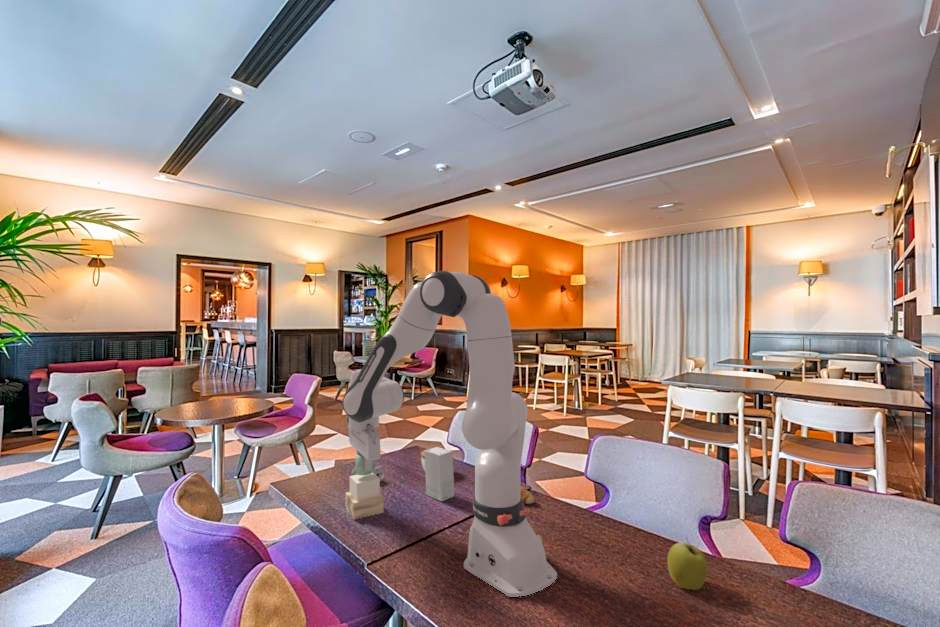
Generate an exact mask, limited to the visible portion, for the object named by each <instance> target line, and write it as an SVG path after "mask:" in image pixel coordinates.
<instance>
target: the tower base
mask: <svg viewBox="0 0 940 627" xmlns="http://www.w3.org/2000/svg"><path fill="white" fill-rule="evenodd" d="M344 493H345V498H344V499H345V507H346V508H345V509H346V511H347V512H348V514H349V515H350V517H351V518H352V520H353V521H355V520H359V518H360V519H364V518H367V516H368V517H371V515H372V516H375V514H376V515H379V514H383V513H384V512H385V511H384V509H385V508H384V507H385V502H384V501H385V500H384V499H385V497H384V495H383V494H382V493H381V492H380V495H379V496H375V497H371V498H367V499H362V500H358V501H357V500H356V499H355V498H354V497H353V496H352V495H351V494H350V491H345V492H344ZM363 517H364V518H363Z"/></svg>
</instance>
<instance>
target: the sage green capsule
mask: <svg viewBox="0 0 940 627" xmlns="http://www.w3.org/2000/svg"><path fill="white" fill-rule="evenodd" d="M364 464H365V459H364V456H363V455H362V454H358V455H357V454H356V455H355V465H356V474H357V475H368V474H371V473H372V472H373V460H372V464H371V470H370V471H365V470H364Z"/></svg>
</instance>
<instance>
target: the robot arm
mask: <svg viewBox="0 0 940 627" xmlns="http://www.w3.org/2000/svg"><path fill="white" fill-rule="evenodd" d="M442 316H447V317H450V318H455V317H457V316H458V317H459V318H461V319H462V321H463V323H464V325H465V330H466V331H465V332H466V333H465V334H466V344H467V355H468V366H469V381H468V382H469V383H468V392H467V393H468V394H467V401H466V409H465V412H464V416H463V418H462V422H461V431H462V434H463V437H464V439H465V440H466V442H467V443H468V444H469V445H470V446H471V447H473V448H475V449H477V450H478V454H477V455H478V456H477V458H476V461H475V465H474V496H473V498H472V501H473V502H472V513H473V516H474V517H473V519H472V524H471V526H470V528H469V534H468V546H467V547H468V548H467V557H466V558H465V560H464V561H463V570H466V571H467V572H469V573H470V574H472V575H474V576H475V577H476V576H477V578H478V579H479V578H480V579H479V580H481V579H482V580H483V581H482V580H481V581H482V582H484V581H485V582H486V584H487V583H488V584H489V585H488V584H487V585H488V586H490V585H491V586H493V587H494V588H496V589H497V590H499V591H501V592H502V593H504V594H505V595H507V596H510V597H519V596H520V597H519V598H522V597H521V596H525V597H527V596H526V595H529V596H531V595H530V594H532V595H534V594H533V593H535V592H538V591H540V592H542V591H544V590H545V589H544V588H546V587H548V586H550V585H551V584H552V583H553V582H554V583H556V581H557V580H558V577H557V576H558V572H557V571H556V570H555V568H554V567H553V566H552V565H551V564H550V563H549V562H548V561H547V555H546V550H545V547H544V545H543V538H542V536H541V535H539V534H536V532H535V531H534V529H533V528H532V526H531V524H530V523H529V521H528V519H527V518H526V516H527V515H528V514H529V512H527V511H529V509H528V508H526V509H525V503H523V501H522V498H521V484H522V482H521V477H522V476H521V473H522V472H521V469H522V468H521V465H522V457H523V452H524V451H523V450H524V444H525V435H526V434H525V432H526V425H527V424H526V422H527V418H528V414H529V413H528V412H529V408H528V404H527V403H526V400H525V398H523V396H521V395H520V394H518V393H517V392H513V379H514V375H515V371H516V370H515V369H516V365H515V356H514V345H513V337H512V328H511V323H510V318H509V314H508V311H507V308H506V304H505V301H504V300H503V299H502V297H500V296H499V295H497V294H494V293H491V288H490V286H489V285H488V283H487V281H485V280H484V279H482V278H481V277H479V276H477V275H473V274H472V275H471V274H467V273H464V272H461V271H447V270H438V271H433V272H431V273H429V274H428V275H426V276H425V278H423V280H422V281H418V282H417V283H415V284H414V285H413V286H412V288H410V291H409V292H408V293H407V295H406V298H405V299H404V301H403V303H402V304H401V307H400V310H399V312H398V314H397V316H396V318H395V320H394V321H393V323H392V325H391V326H390V327H389V329H388V330H387V332H386V333H384V335H382V337H381V338H379V339H378V341H377V342H376V344H375V346H374V347H373V349H372V351H371V352H370V354H369V355H368V357H367V359H366V361H365V362H364V365H363V366H362V368H359V369H355V370H354V371H352V372H351V374H350V378H349V384H348V385H349V387H348V388H347V389H346V391H345V393H344V394H343V399H342V408H343V411H344V413H345V415H346V423H347V424H348V425H347V428H348V440H349V444H350V446H352V447H353V448H354V449H355V452H356V455H358V454H362V455H363V456H364V459H365V464H364V470H365V471H370V470H371V464H372V460H375V461H376V460H380V458H381V437H380V433H379V432H378V431H377V430H376V429H377V428H379V426H380V416H384V415H389V414H392V413H394V412H397V411H399V410H400V409H401V408H402V407H403V404H404V402H405V395H404V392H405V391H404V390H403V387H402V385H401V384H400V383H399V382H398V381H396V380H392V379H390V378H387V377H386V376H385V375H386V374H387V372H388V370H389V369H390V367H391V366H393V364H395V363H396V362H398V361H399V360H401V359H403V358H406V357H408V356H409V355H411V354H414V353H416V352H419V351H421V350H423V349H424V348H425V347H426V346H427V345H428V344H429V342H430V341H431V339H432V337H433V335H434V334H435V331H436V329H437V327H438V324H439V322H440V320H441V318H442ZM556 579H557V580H556ZM555 580H556V581H555ZM485 582H484V583H485ZM554 583H553V584H554ZM553 584H552V585H553ZM552 585H551V586H552ZM491 586H490V587H491ZM551 586H550V587H551ZM493 587H492V588H493ZM494 588H493V589H494ZM548 588H549V587H548ZM496 589H495V590H496ZM543 589H544V590H543ZM546 589H547V588H546ZM497 590H496V591H497ZM541 590H542V591H541ZM499 591H498V592H499ZM502 593H501V594H502ZM538 593H539V592H538ZM504 594H503V595H504ZM535 594H536V593H535ZM505 595H504V596H505ZM507 596H506V597H507Z"/></svg>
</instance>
